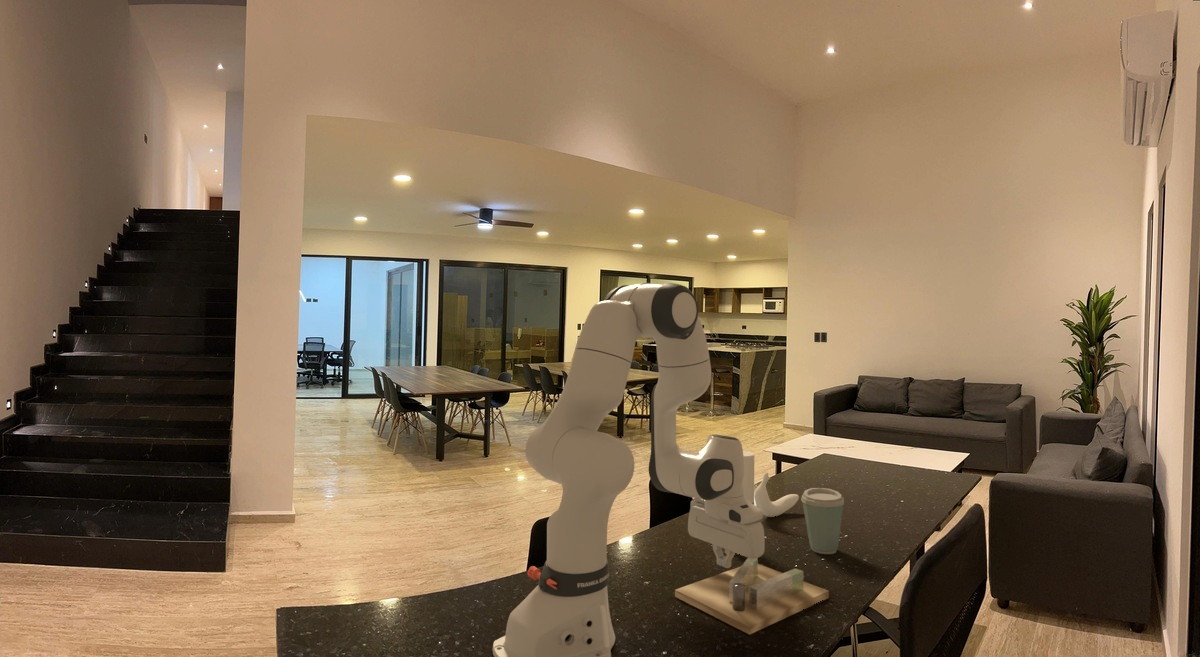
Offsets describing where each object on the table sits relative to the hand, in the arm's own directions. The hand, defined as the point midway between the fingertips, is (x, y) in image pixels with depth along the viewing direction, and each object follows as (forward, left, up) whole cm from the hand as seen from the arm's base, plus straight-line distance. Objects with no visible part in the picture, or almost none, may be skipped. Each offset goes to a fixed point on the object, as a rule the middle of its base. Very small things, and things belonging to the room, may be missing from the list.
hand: (723, 565), depth 139 cm
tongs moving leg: (-4, -10, -2) cm, 11 cm away
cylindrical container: (+18, +10, -3) cm, 21 cm away
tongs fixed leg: (-1, -15, -2) cm, 15 cm away
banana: (+49, +22, -3) cm, 54 cm away
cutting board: (-2, -10, -3) cm, 11 cm away
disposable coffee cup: (+35, -3, -3) cm, 35 cm away
